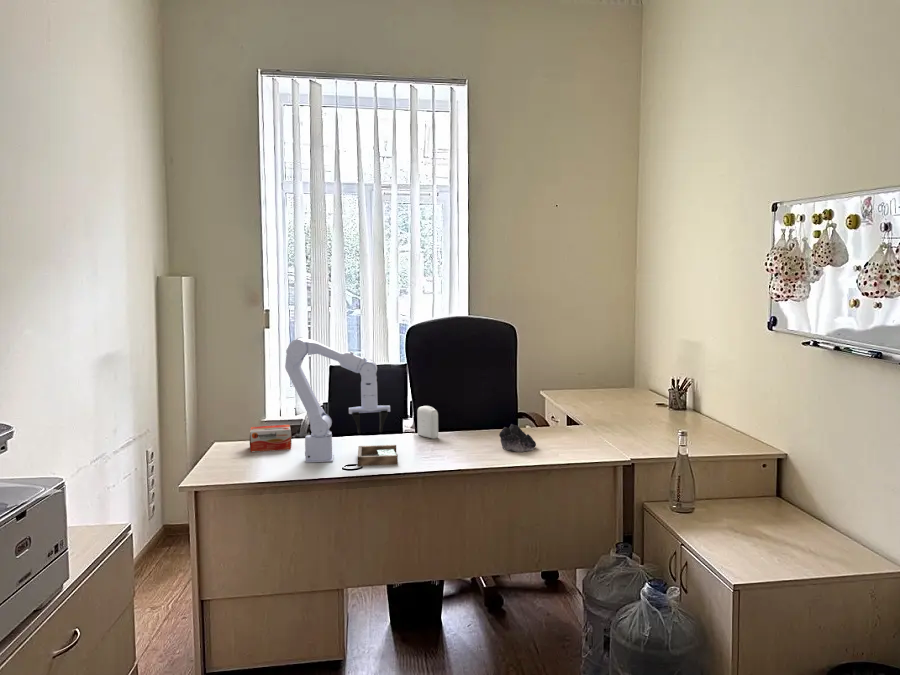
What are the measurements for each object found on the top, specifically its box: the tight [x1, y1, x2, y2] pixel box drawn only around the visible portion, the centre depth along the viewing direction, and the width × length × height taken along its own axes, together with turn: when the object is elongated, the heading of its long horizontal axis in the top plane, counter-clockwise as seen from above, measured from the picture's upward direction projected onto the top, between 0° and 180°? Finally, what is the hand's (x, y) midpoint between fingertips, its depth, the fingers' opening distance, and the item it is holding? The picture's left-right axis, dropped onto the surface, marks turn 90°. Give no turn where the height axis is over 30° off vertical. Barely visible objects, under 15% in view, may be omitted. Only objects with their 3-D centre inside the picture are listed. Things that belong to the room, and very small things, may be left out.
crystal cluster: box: [498, 423, 537, 453], centre depth 263 cm, size 13×14×10 cm
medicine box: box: [249, 424, 292, 453], centre depth 264 cm, size 15×8×8 cm, turn 105°
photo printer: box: [416, 405, 439, 439], centre depth 282 cm, size 10×4×12 cm, turn 39°
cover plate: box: [376, 449, 397, 456], centre depth 249 cm, size 6×11×2 cm, turn 12°
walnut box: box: [357, 444, 399, 467], centre depth 248 cm, size 14×15×3 cm
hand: (370, 432), depth 248 cm, fingers open, 7 cm apart
